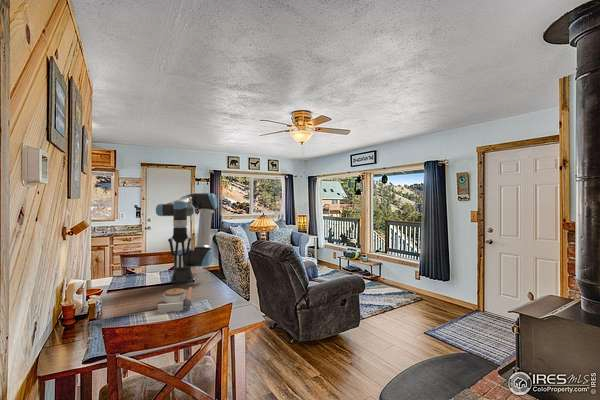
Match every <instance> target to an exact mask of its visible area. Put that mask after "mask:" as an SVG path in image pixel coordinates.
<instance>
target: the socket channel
mask: <svg viewBox="0 0 600 400" xmlns="http://www.w3.org/2000/svg"><path fill="white" fill-rule="evenodd" d="M186 295H187V294H186V291H185V298H184V301H185V299H187V297H186ZM184 301H183V302H181V303H169V304H166V302H165V298H164V293H163V294H162V303H158V304H157V313H158V314H162V313H161V312H163V313H170V311H174V312H182V311H181V310H183V311H184ZM163 302H164V303H163ZM185 310H186V311H190V310H191V305H190V306H185Z"/></svg>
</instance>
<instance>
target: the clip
mask: <svg viewBox="0 0 600 400" xmlns="http://www.w3.org/2000/svg"><path fill="white" fill-rule="evenodd" d="M192 294H193V287H192V286H189V288H188V293H187V297H186V299H185V300H184V305H185V307H186V306H190V307H191V306H192Z"/></svg>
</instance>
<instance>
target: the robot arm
mask: <svg viewBox="0 0 600 400" xmlns="http://www.w3.org/2000/svg"><path fill="white" fill-rule="evenodd" d="M196 209H197V210H198V212H199V218H198V230H197V237H196V238H197V239H196V245H195V246H194V248H193V249H192V248H191V241H192V237H189V236H188V228H187V226H188V217H191V216H193V215H194V214H195V211H196ZM216 209H218V198H217V196H216V194H215V193H211V192H207V193H205V192H202V193H195V192H194V193H190V194H186V195H183V196H181V197H180V198H179V199H175V200H174V201H171V202H168V203H158V204H157V205H156V206H155V214H156V215H157V217H158V216H159V217H173V220H172V223H173V224H172V226H173V228H172V229H173V230H172V237H170V238H168V239H167V241H168V243H169V247H170V252H171V253H170V254H171V256H173V272H172V276H171V279H170V283H171V282H172V283H171V284H174V283H175V285H176V284H177V285H182V284H189V283H193V282H194V281H193V280H194V278H195V277H194V274H193V271H192V267H194V268H195V267H197V268H198V267H202V268H205V267H206V268H207V267H209V266H210V265H211V264H212V262H213V259H214V250H212V246H210V240H211V230H212V229H211V228H212V227H211V226H212V218H213V217H212V216H213V214H214V213H215V210H216ZM186 240H187V245H186V247H185V242H186ZM173 241H174V242H175V249H174V245H173V244H174V243H173ZM179 244H181V248H180V249H179Z"/></svg>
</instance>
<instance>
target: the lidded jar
mask: <svg viewBox="0 0 600 400" xmlns="http://www.w3.org/2000/svg"><path fill="white" fill-rule="evenodd" d="M185 292H186V290H185V289H184V288H176V287H174V288H172V289H171V288H170V289H168V290H165V291H164V293H163V294H164V298H165V302H164V303H165V304H169V303H181V302H183V303H184V302H185V300H184V298H185Z"/></svg>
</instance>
